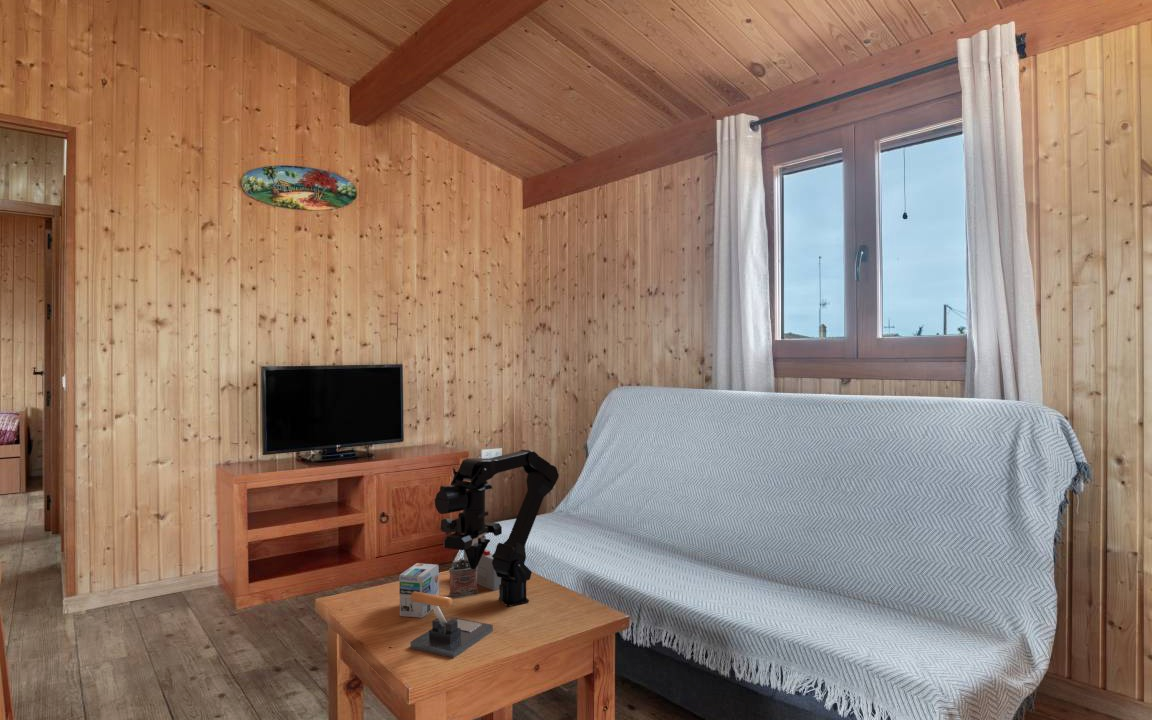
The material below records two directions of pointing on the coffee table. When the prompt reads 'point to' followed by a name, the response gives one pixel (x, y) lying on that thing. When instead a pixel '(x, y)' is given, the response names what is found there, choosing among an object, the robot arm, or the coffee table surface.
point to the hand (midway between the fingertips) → (473, 568)
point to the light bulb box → (418, 588)
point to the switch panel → (455, 645)
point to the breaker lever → (433, 603)
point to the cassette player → (486, 572)
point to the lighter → (462, 579)
